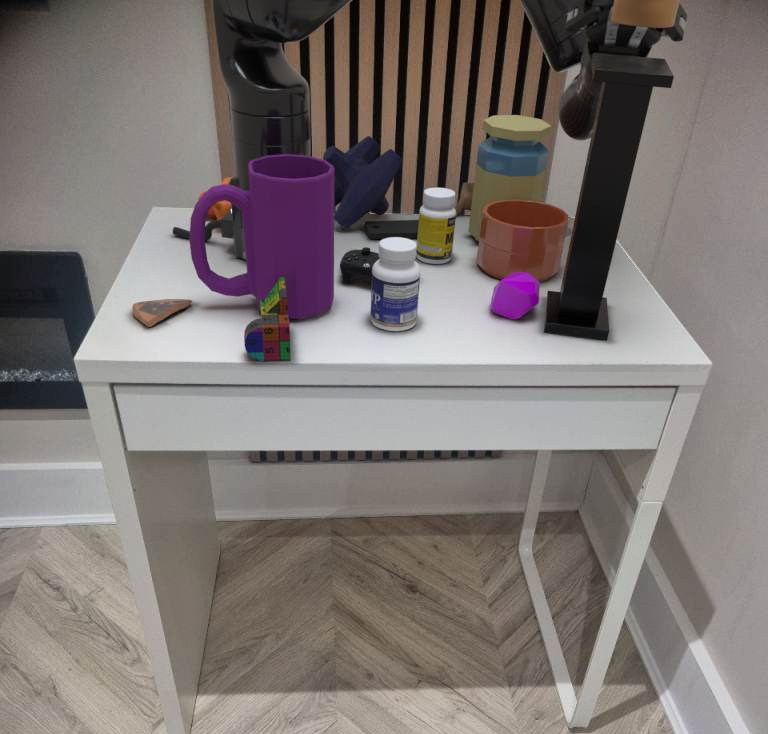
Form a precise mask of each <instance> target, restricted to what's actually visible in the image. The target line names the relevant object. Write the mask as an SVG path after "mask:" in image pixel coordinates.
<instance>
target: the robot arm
mask: <svg viewBox="0 0 768 734" xmlns="http://www.w3.org/2000/svg"><path fill="white" fill-rule="evenodd" d="M518 1H519V3H520V5H521V7H522V9H523V11H524V13H525V15H526V17H527V19H528V21H529V23H530V25H531V27H532V29H533V32H534V34H535V37H536V38H537V40H538V43H539V45H540V47H541V50H542V51H543V54H544V55H545V58H546V60H547V63H548V65H549V67H550V68H551V70H552V71H553V72H554V73H558V74H559V73H564V72H567V71H569V70H573V69H574V68H577V67H580V69H579V73H578V74H577V75H576V76H575V77H574V78H573V79H572V80H571V82H569V85H568V86H567V87H566V88H565V89H564V91H563V92H562V95H561V96H560V98H559V99H560V100H559V101H558V102H559V103H558V120H559V123H560V126H561V128H562V130H563V132H564V133H565V134H566V135H567V136H568V137H569V138H570V139H572V140H575V141H580V142H581V141H582V142H583V141H587V140H591V136H592V131H593V126H594V121H595V116H596V111H597V106H598V101H599V96H600V91H601V86H602V82H595V81H593V77H592V67H591V62H592V56H593V53H601V54H613V55H625V56H637V57H648V56H649V54H650V52H651V51H652V47H653V46H654V45H656V44H657V43H659V42H660V41H661V39H662V37H665V38H670V40H671V41H673V42H676V43H677V42H682V41H684V36H685V31H686V25H687V19H688V14H687V12H686V10H685V8H684V7H683V6H682V4H681V3H680V2H679V6H678V10H677V14H676V19H675V23H674V26H672V27H668V28H650V27H638V26H630V25H624V24H619V23H615V22H613V21H611V15H612V10H613V5H614V0H518ZM351 2H353V0H211V9H212V17H213V26H214V33H215V42H216V50H217V59H218V65H219V73H220V75H221V78H222V81H223V84H224V86H225V88H226V91H227V94H228V100H229V114H230V125H231V138H232V139H231V140H232V153H233V155H232V156H233V168H234V175H233V176H231V177H232V178H231V179H230V185H232V186H236V187H238V188H240V189H242V190H244V191H247V190H250V186H249V170H248V164H249V162H250V161H251V160H254V159H257V158H261V157H264V156H268V155H281V154H293V155H306V156H311V157H312V151H311V150H312V149H311V147H312V146H311V145H312V143H311V141H312V139H311V91H310V85H309V83H308V81H307V80H306V79H305V77H304V76H302V74H300V73H299V72H298V71H297V70H296V69H295V68H294V67H293V66H292V65H291V63H290V62H289V60H288V58H287V57H286V55H285V51H284V49H283V44H285V45H286V44H293V43H298V42H301V41H302V40H303V41H304V40H305V39H306V38H308V37H310V36H311V35H312V34H314V33H315V32H317V31H318V30H319V29H320V28H321V27H323V26H324V25H325V24H326V23H328V22H329V21H330V20H331V19H332V18H333V17H334V16H336V15H337V14H338V13H339V12H340V11H342V10H343V9H344V8H345V7H346V6H347V5H348V4H350V3H351ZM648 58H649V57H648ZM216 229H220V230H221V231H220V232H221V238H225V239H233V245H234V246H233V247H234V257H235V258H237V259H238V258H239V259H243V260H245V261H246V253H245V241H244V229H243V218H242V210H240V209H239V208H238V207H236V206H235V205H233V204H232V203H231V210H230V211H229V212H228V213H227V214H226V215H225V216H224V217H222V218H221V219H220V220H217V219H215V220H211V221H209V222H208V223H207V224H205V242H207V241H209V240H211V238H212V236H213V230H216ZM172 234H173V235H175V236H178V237H181V238H185V239H187V240H189V238H190V230H187V229H184V228H181V227H177V226H174V227H173V228H172Z"/></svg>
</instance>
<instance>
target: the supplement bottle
mask: <svg viewBox="0 0 768 734" xmlns="http://www.w3.org/2000/svg"><path fill="white" fill-rule="evenodd" d="M422 203H423V205H421V206H420V208H419V213H418V220H419V225H418V238H416V239H417V240H416V245H417V249H416V258H417V259H418V260H419V261H420V262H423V263H426V264H432V265H441V264H446V263H448V262H450V261H451V260H452V256H453V248H454V247H453V246H454V241H455V239H454V238H455V229H456V221H457V220H456V219H457V215H456V210H455V204H456V192H455V190H453V189H450V188H446V187H428V188H426V189H424V190H423V197H422Z"/></svg>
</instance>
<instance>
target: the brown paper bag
mask: <svg viewBox="0 0 768 734" xmlns="http://www.w3.org/2000/svg"><path fill="white" fill-rule="evenodd" d="M473 188H474V182H463V183H462V186H461V190H460V195H459V200H458V202H457V204H456V206H454V208H455V210H456V216H458V215H459V214H462V212H463V211H464V210H466V211H469V212H471V206H472V197H473Z"/></svg>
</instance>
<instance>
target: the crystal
mask: <svg viewBox="0 0 768 734" xmlns="http://www.w3.org/2000/svg"><path fill="white" fill-rule="evenodd" d="M540 288H541V281H540V282H539V281H537V280H536V279H535V278H534V277H533V276H531V275H530V274H529V273H526V272H513V273H512V274H510V275H509V276H507V277H506V278H504V279H500V281H498V283H497V284H495V285H494V287H493V291H492V293H491V294H492V295H491V299H490V304H489V307H490V308H491V310H492V312H493V313H494V314H495V315H496V314H497V315H499V316H502V317H504V318H508V319H510V320H517V319H520V318H521V317H523V316H524V315H526V314H527V313H528V312H529V311H531V310H532V309H533V308H534V307H536V306H538V304H539V303H540V290H541V289H540Z"/></svg>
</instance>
